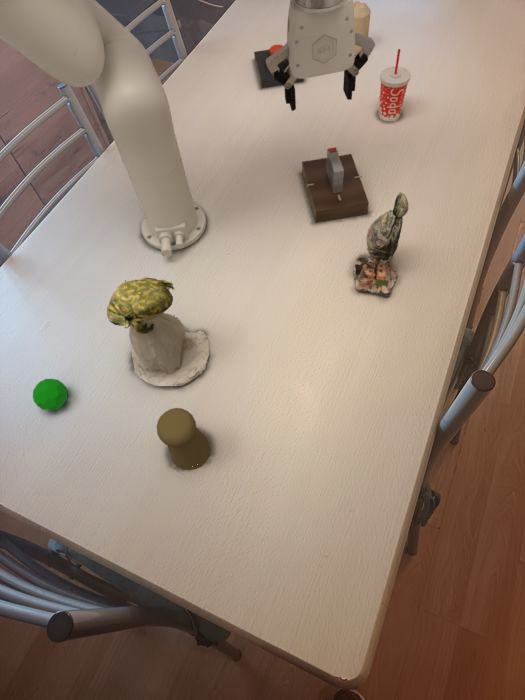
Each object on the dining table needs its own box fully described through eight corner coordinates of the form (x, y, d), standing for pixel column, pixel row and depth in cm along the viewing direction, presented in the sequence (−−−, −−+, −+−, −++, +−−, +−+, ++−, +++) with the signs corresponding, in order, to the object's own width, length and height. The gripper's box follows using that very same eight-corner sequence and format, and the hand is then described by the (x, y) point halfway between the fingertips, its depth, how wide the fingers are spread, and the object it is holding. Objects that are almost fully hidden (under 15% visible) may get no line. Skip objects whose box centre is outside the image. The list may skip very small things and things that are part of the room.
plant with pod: (408, 256, 89) (431, 164, 72) (387, 304, 84) (407, 217, 67) (364, 243, 92) (377, 151, 74) (342, 289, 87) (350, 202, 70)
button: (286, 59, 117) (286, 51, 116) (271, 61, 117) (270, 54, 115) (283, 50, 119) (283, 43, 117) (269, 53, 119) (268, 45, 117)
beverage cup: (373, 122, 108) (381, 57, 96) (376, 105, 111) (385, 40, 99) (402, 124, 107) (413, 59, 95) (404, 107, 110) (416, 41, 98)
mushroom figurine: (187, 400, 78) (158, 340, 62) (118, 375, 82) (73, 311, 66) (219, 339, 84) (199, 270, 68) (153, 318, 87) (119, 246, 71)
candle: (341, 45, 124) (343, 1, 116) (361, 40, 125) (365, -4, 116) (349, 57, 121) (352, 12, 113) (370, 51, 122) (375, 7, 113)
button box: (303, 82, 118) (303, 65, 115) (261, 88, 118) (260, 72, 114) (294, 54, 124) (294, 37, 121) (254, 60, 124) (253, 44, 121)
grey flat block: (342, 191, 94) (344, 169, 90) (333, 193, 94) (334, 171, 90) (335, 169, 98) (336, 146, 93) (326, 170, 98) (326, 147, 93)
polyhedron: (36, 401, 80) (21, 388, 76) (61, 381, 82) (48, 367, 78) (52, 421, 78) (38, 408, 74) (78, 400, 80) (65, 387, 76)
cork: (211, 429, 76) (197, 399, 66) (210, 469, 73) (195, 443, 63) (171, 432, 76) (152, 402, 66) (169, 471, 73) (148, 446, 63)
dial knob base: (368, 214, 95) (370, 201, 92) (313, 223, 95) (313, 210, 92) (351, 165, 102) (353, 152, 100) (300, 174, 102) (300, 161, 99)
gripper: (264, 13, 69) (274, 123, 83) (388, -11, 69) (375, 104, 83) (256, -13, 72) (266, 97, 87) (373, -36, 72) (363, 78, 87)
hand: (319, 100), depth 85 cm, fingers open, 9 cm apart
